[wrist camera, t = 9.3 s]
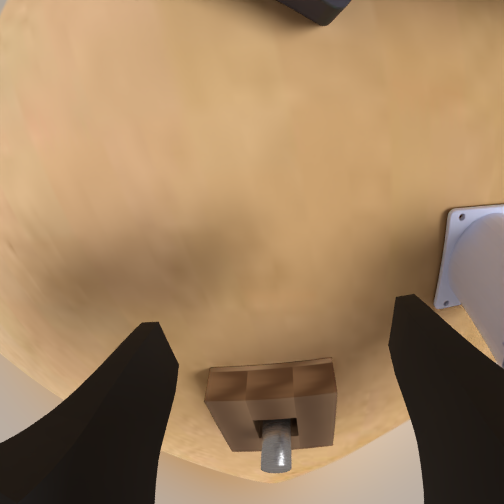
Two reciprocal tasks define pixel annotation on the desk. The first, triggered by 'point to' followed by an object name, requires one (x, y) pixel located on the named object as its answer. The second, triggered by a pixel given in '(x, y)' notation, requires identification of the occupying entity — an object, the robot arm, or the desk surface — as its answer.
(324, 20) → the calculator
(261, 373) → the bore block
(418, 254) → the desk surface
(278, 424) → the pin
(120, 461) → the robot arm
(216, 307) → the desk surface
